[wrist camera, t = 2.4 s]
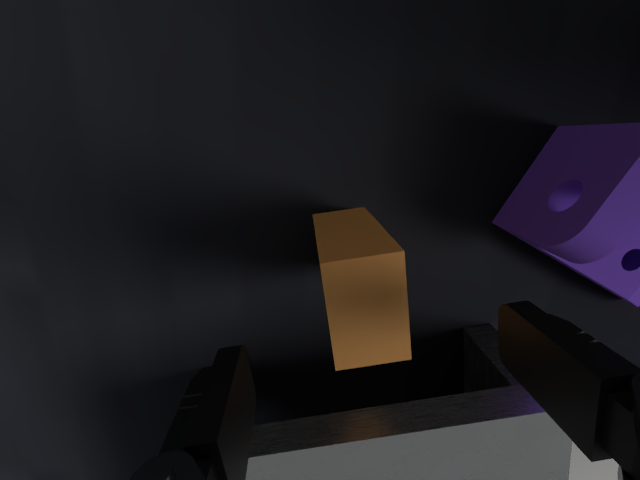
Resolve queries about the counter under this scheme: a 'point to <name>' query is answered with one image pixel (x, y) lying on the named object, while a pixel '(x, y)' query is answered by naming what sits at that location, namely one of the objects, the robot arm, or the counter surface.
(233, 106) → the counter surface
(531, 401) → the grey slotted platform
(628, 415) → the robot arm
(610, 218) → the bracket
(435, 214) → the counter surface
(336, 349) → the orange rectangular block
